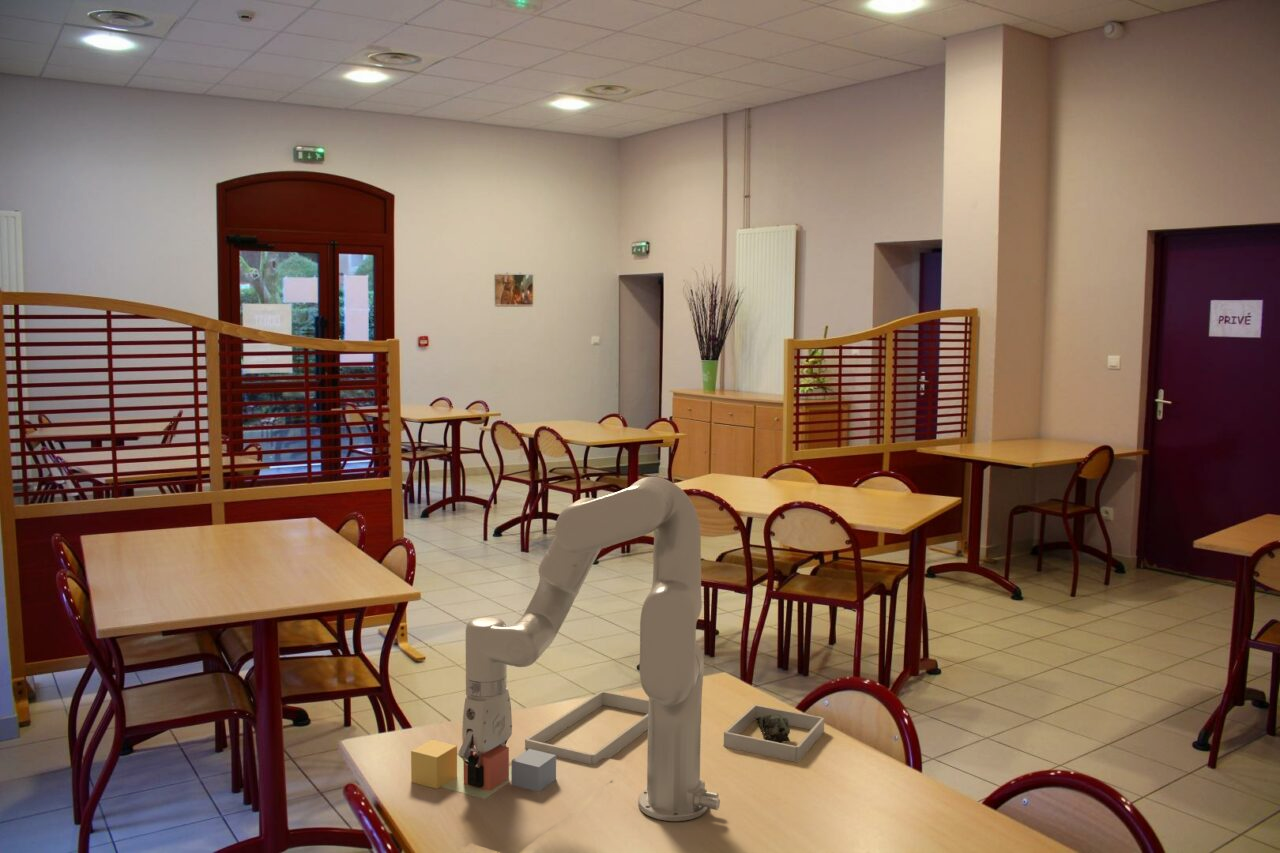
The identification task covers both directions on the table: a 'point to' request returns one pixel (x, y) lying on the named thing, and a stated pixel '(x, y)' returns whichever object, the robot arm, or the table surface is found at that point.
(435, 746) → the ochre block
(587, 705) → the beige open rectangular frame
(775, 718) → the dark grey lumpy lump
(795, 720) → the shell frame
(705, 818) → the table surface
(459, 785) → the building board
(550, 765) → the slate block
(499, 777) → the red block
